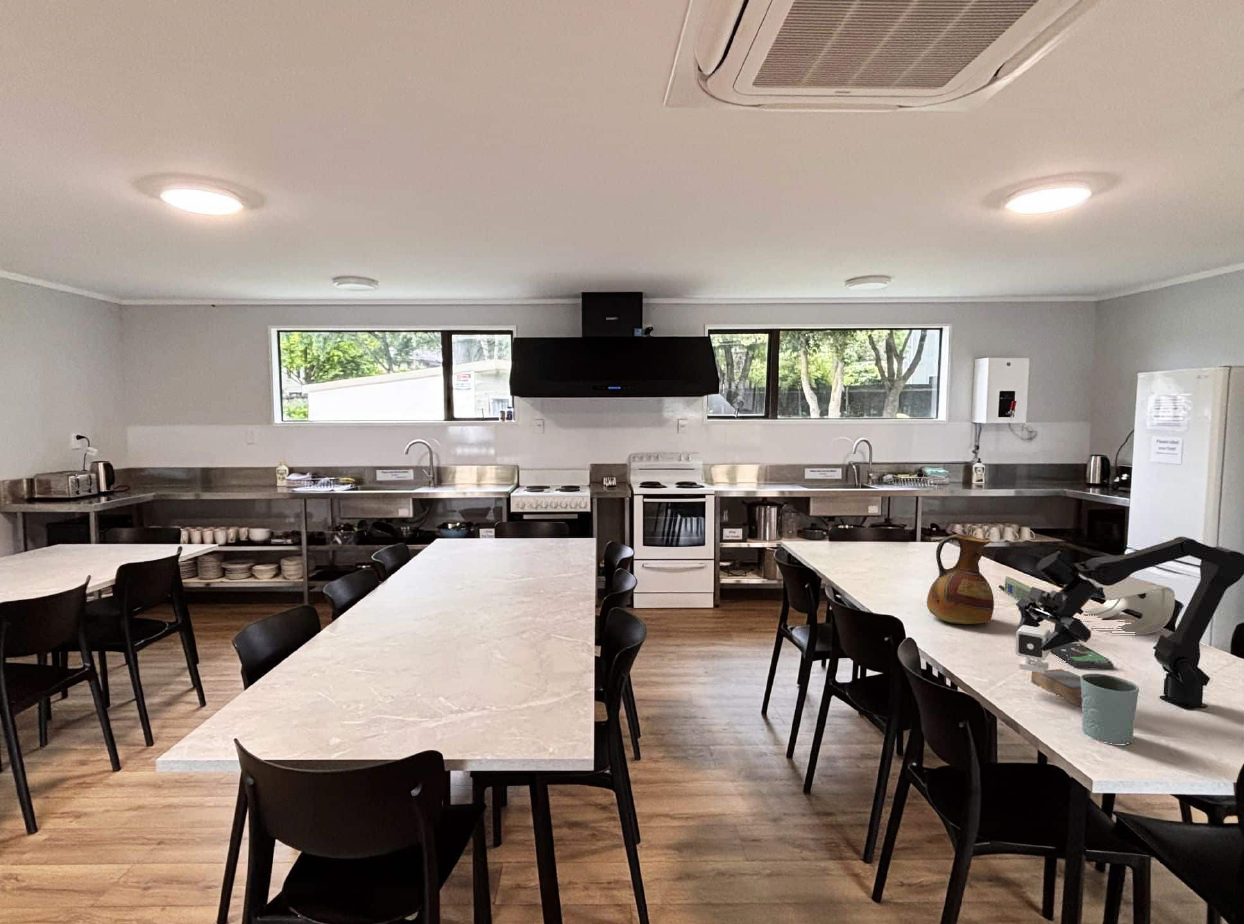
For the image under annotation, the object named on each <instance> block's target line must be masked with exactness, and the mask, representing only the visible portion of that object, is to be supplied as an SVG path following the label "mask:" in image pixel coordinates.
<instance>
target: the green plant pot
mask: <svg viewBox="0 0 1244 924" xmlns="http://www.w3.org/2000/svg"><path fill="white" fill-rule="evenodd" d="M1080 680H1081V691H1082V695H1081V697H1082V706H1081V713H1082V715H1081V724H1082V725H1081V727H1082V732H1083V731H1084V732H1083V733H1084V734H1085V735H1086V734H1087V735H1088V737H1089V736H1090V737H1092V738H1094V739H1096V740H1095V741H1097V740H1099V741H1098V742H1100V741H1102V742H1101V743H1103V742H1107V743H1112V744H1127V743H1131V744H1132V743H1133V735H1134V723H1135V716H1136V715H1135V712H1136V710H1137V703H1138V699H1139V691H1140V687H1139V685H1137V684H1135V683H1133V681H1129V680H1127V679H1125V678H1121V677H1119V676H1113V675H1109V674H1102V673H1084V674H1082V675H1080ZM1087 735H1086V736H1087ZM1090 737H1089V738H1090ZM1092 738H1091V739H1092ZM1094 739H1093V740H1094Z"/></svg>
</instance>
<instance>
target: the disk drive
mask: <svg viewBox="0 0 1244 924" xmlns="http://www.w3.org/2000/svg"><path fill="white" fill-rule="evenodd" d="M1050 652H1051V653H1052V654H1051V653H1050V654H1051V655H1053V654H1054V655H1056V656H1058V657H1059V658H1061V659H1062V660H1061V659H1060V660H1061V661H1063V660H1064V661H1066V662H1065V663H1066V664H1067V663H1068V664H1067V665H1069V666H1071V667H1072V666H1073V667H1072V668H1074V669H1086V668H1098V669H1097V670H1114V663H1112V660H1110V659H1109V658H1107V657H1105V656H1104V655H1101V654H1100V653H1098V652H1096V651H1094V650H1093V649H1091V648H1089V647H1087V646H1086V645H1084V644H1082V643H1080V642H1073V643H1069V644H1065V645H1062V646H1059V647H1056V648H1053V649H1050ZM1054 655H1053V656H1054ZM1056 656H1055V657H1056ZM1058 657H1057V658H1058ZM1059 658H1058V659H1059ZM1064 661H1063V662H1064Z"/></svg>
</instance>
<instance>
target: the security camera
mask: <svg viewBox="0 0 1244 924" xmlns="http://www.w3.org/2000/svg"><path fill="white" fill-rule="evenodd" d="M1016 631H1017V630H1016ZM1015 634H1016V637H1015V649H1014V650H1015V654H1016V656H1018V657H1022V659H1021V660H1020V661H1019V662H1018V669H1021V670H1026V671H1030V672H1032V671H1034V672H1039V673H1043V674H1044V673H1045V672H1046V671H1047V670H1049V667H1050V666H1049V662H1047V661H1045V660H1046V659H1047V657H1048V656H1049V655H1050V654H1051V653H1050V650H1046V651H1043V650H1042V649H1041V646H1042V645H1043V643H1044V642H1045V641H1046V640H1047V638H1048V637H1049V636H1050V635H1051V634H1052V632H1051V630H1050V629H1048V628H1044V627H1032V626H1026V625H1023V626H1021V627H1020V628H1019V630H1018V631H1017V632H1015ZM1035 660H1036V661H1035Z"/></svg>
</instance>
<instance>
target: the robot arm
mask: <svg viewBox="0 0 1244 924" xmlns="http://www.w3.org/2000/svg"><path fill="white" fill-rule="evenodd" d="M1189 556H1190V557H1192V558H1195V559H1197V560H1201V561H1200V565H1199V573H1200V575H1199V576H1200V580H1199V582H1198V584H1197V586H1196V588H1195V590H1194V592H1193V595H1192V597H1191V599H1189V600H1190V601H1189V602H1188V604H1187V607H1186V608H1185V610H1184V612H1183V614H1182V616H1181V619H1180V620H1179V623H1178V624H1177V626H1176V628H1175V630H1174V631H1173V633H1171V634H1169V635H1168V636H1166V635H1164V634H1160V635H1159V637H1158V640H1157V643H1156V644H1155V645H1154V646H1153V647H1152V649H1153V650H1155V651H1154V659H1155V660H1156V662H1157V663H1158V664H1160V665H1161V667H1162V669H1163V671H1164V672H1166V673H1165V678H1163V695H1159V699H1161V700H1163V701H1166V702H1168V703H1171V704H1173V705H1175V706H1177V707H1180V708H1182V709H1185V710H1192V709H1194V710H1195V709H1203V708H1208V705H1207V703H1204V702H1203V697H1204V687H1207V686H1208V684H1209V682H1210V681H1211V678H1210V676H1209V675H1208V674H1206V672H1204V671H1203V670H1202V669H1201V668H1200V667H1199V664H1200V660H1201V648H1200V646H1201V645H1200V643H1201V640H1202V638H1203V636H1204V634H1205V632H1206V631H1207V629H1208V626H1209V624H1211V623H1210V622H1211V621H1212V619H1213V616H1214V615H1215V613H1216V611H1217V609H1218V607H1219V605H1220V603H1221V601H1222V599H1223V597H1224V595H1225V593H1226V591H1227V590H1228V588H1230V587H1232V586H1233V585H1235V584H1236V583H1237V582H1238V583H1239V581H1240V580H1241V579H1242V578H1243V576H1244V553H1242V552H1240V551H1236V550H1233V549H1230V548H1227V547H1222V546H1211V545H1207V544H1204V543H1202V542H1198V540H1196V539H1193V538H1189V537H1186V536H1177V537H1174V538H1173V539H1171V540H1168V541H1165V542H1161V543H1158V544H1154V545H1151V546H1148V547H1145V548H1142V549H1139V550H1135V551H1132V552H1129V553H1125V554H1121V555H1104V556H1099V557H1093V558H1092V557H1091V558H1090V559H1087V560H1086V562H1085V561H1083V562H1077V563H1073V562H1071V560H1069V559H1068V558H1067V557H1066V555H1065V554H1064V553H1062V551H1059V550H1058V551H1056V552H1054V553H1053V554H1052V553H1051V554H1049V555H1047V556H1046V557H1043V558H1041V559H1040V560H1039V562H1038V563H1036V570H1038V571H1039V573H1041V575H1043V576H1044V577H1045V578H1047V579H1048V580H1049V581H1050V582H1052V583H1053V585H1055V586H1060V584H1061V586H1062V588H1061V589H1060V590H1059V591H1058V590H1057V591H1056V590H1051V591H1046V590H1043V589H1041V588H1038V587H1035V586H1031V590H1030V593H1029V595H1028V597H1027V598H1029V599H1033V600H1035V601H1037V602H1036V603H1035V602H1032V601H1030V600H1027V599H1020V600H1019V601H1018V600H1017V602H1016V603H1015V606H1016V607H1018V608H1017V609H1018V611H1019V612H1020V619H1019V620H1020V621H1019V623H1018V626H1017V629H1016V630H1015V631H1016V632H1017V631H1018V630H1019V628H1020V627H1021V626H1023V625H1026V626H1032V627H1038V628H1040V626H1041V622H1043V621H1044V620H1045V621H1048V622H1050V623H1052V624H1054V630H1053V631H1052V632H1051V635H1050V636H1049V637H1048V638H1047V640H1046V641H1045V642H1044V643H1043V645H1042V646H1041V649H1042V650H1043V651H1046V650H1050V649H1053V648H1056V647H1059V646H1062V645H1065V644H1069V643H1080V642H1084V643H1086V642H1088V640H1089V639H1091V638H1092V630H1091V629H1088V628H1087V627H1086V626H1085V625H1084V624H1083V623H1082V621H1081V620H1080V619H1077V618H1074V617H1073V616H1074V615H1075V614H1076V613H1078V614H1080V615H1081V614H1082V613H1083V612H1084V611H1085V610H1083V609H1082V608H1083V607H1084V606H1085V605H1086V604H1087V603H1088V602H1089V601H1090V600H1091V598H1097V599H1102V598H1103V599H1102V600H1104V598H1105V594H1104V592H1103V587H1096V586H1095V585H1096V584H1095V583H1094V582H1093V583H1094V584H1095V585H1094V584H1093V583H1092V582H1091V581H1089V580H1088V579H1092V580H1093V581H1095V582H1097V583H1099V584H1101V585H1104V586H1110V585H1114V584H1116V583H1118V582H1120V581H1122V580H1124V579H1126V578H1127V577H1129V576H1130V577H1131V575H1133V574H1134V573H1136V572H1139V571H1142V570H1146V569H1149V568H1152V567H1155V566H1159V565H1162V564H1165V563H1169V562H1172V561H1176V560H1179V559H1182V558H1185V557H1189ZM1079 575H1082V576H1084V577H1086V578H1088V579H1083V578H1081V577H1080V576H1079ZM1063 585H1065V586H1063ZM1037 603H1038V604H1037ZM1016 632H1015V635H1014V637H1015V638H1016Z"/></svg>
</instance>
